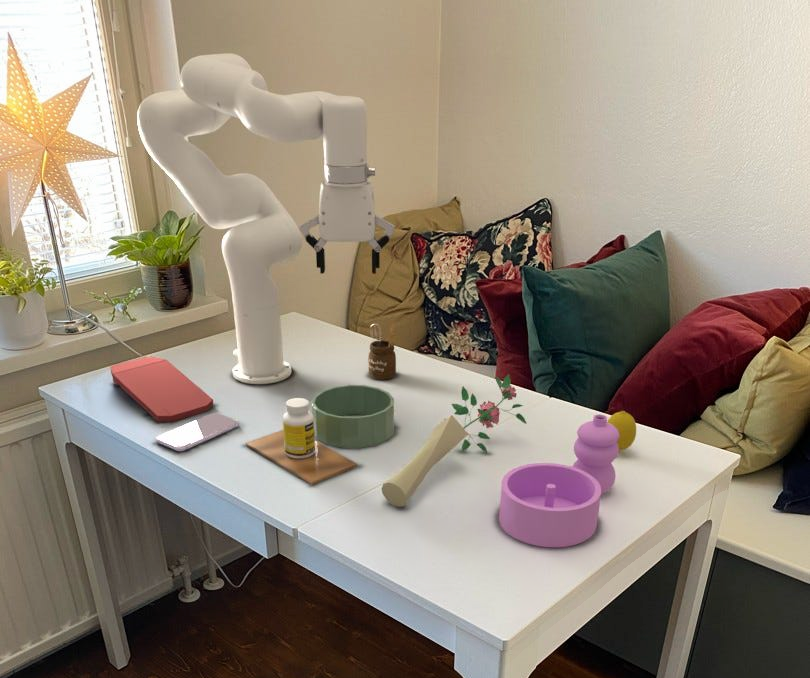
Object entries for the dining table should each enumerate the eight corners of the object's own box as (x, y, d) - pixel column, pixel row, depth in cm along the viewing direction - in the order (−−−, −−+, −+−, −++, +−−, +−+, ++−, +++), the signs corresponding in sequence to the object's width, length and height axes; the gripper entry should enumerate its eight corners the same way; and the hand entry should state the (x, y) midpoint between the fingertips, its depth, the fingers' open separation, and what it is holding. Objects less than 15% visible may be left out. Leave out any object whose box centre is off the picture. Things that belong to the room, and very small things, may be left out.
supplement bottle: (310, 461, 155) (307, 410, 150) (281, 458, 156) (277, 407, 150) (319, 447, 159) (316, 397, 154) (290, 444, 160) (286, 394, 155)
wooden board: (246, 445, 161) (245, 442, 161) (290, 430, 167) (290, 427, 167) (311, 485, 149) (311, 482, 148) (357, 466, 154) (357, 463, 154)
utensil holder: (379, 368, 194) (378, 314, 187) (402, 374, 190) (402, 320, 184) (362, 376, 190) (361, 322, 183) (386, 382, 186) (385, 328, 180)
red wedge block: (217, 423, 177) (156, 370, 191) (216, 402, 174) (155, 349, 188) (162, 440, 171) (104, 384, 184) (161, 418, 168) (101, 363, 181)
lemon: (613, 442, 163) (618, 402, 159) (638, 451, 160) (645, 411, 155) (595, 451, 160) (601, 411, 155) (621, 461, 156) (627, 420, 152)
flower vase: (385, 534, 150) (483, 421, 170) (442, 538, 142) (538, 419, 162) (358, 477, 144) (463, 368, 164) (416, 479, 136) (519, 363, 156)
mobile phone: (241, 420, 168) (179, 448, 158) (242, 425, 168) (180, 453, 158) (215, 410, 171) (152, 436, 162) (215, 415, 172) (153, 441, 162)
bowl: (297, 428, 167) (295, 399, 164) (359, 406, 176) (358, 378, 173) (347, 455, 158) (346, 425, 155) (410, 431, 167) (410, 402, 163)
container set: (563, 558, 130) (573, 480, 123) (480, 524, 138) (484, 448, 131) (642, 495, 146) (654, 422, 139) (563, 467, 154) (571, 397, 147)
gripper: (394, 170, 159) (394, 266, 168) (298, 170, 158) (303, 266, 167) (395, 179, 152) (394, 277, 162) (295, 178, 152) (300, 277, 161)
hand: (348, 271), depth 164 cm, fingers open, 9 cm apart
